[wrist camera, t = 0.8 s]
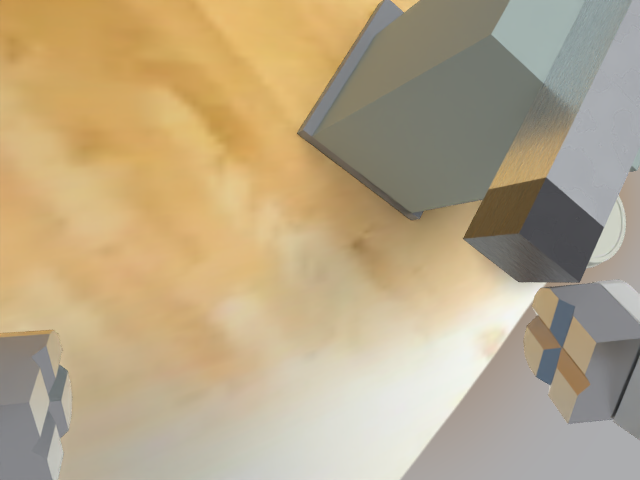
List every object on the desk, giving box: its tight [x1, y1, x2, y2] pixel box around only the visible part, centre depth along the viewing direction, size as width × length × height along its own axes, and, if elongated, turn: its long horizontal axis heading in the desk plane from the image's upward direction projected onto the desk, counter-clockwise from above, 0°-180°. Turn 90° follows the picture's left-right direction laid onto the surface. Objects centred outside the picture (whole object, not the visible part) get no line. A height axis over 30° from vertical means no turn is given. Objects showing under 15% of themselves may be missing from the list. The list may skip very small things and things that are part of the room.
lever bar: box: [463, 0, 640, 282], centre depth 32 cm, size 24×4×4 cm, turn 148°
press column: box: [297, 0, 640, 220], centre depth 47 cm, size 16×14×26 cm
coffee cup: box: [586, 195, 626, 269], centre depth 58 cm, size 9×8×12 cm
